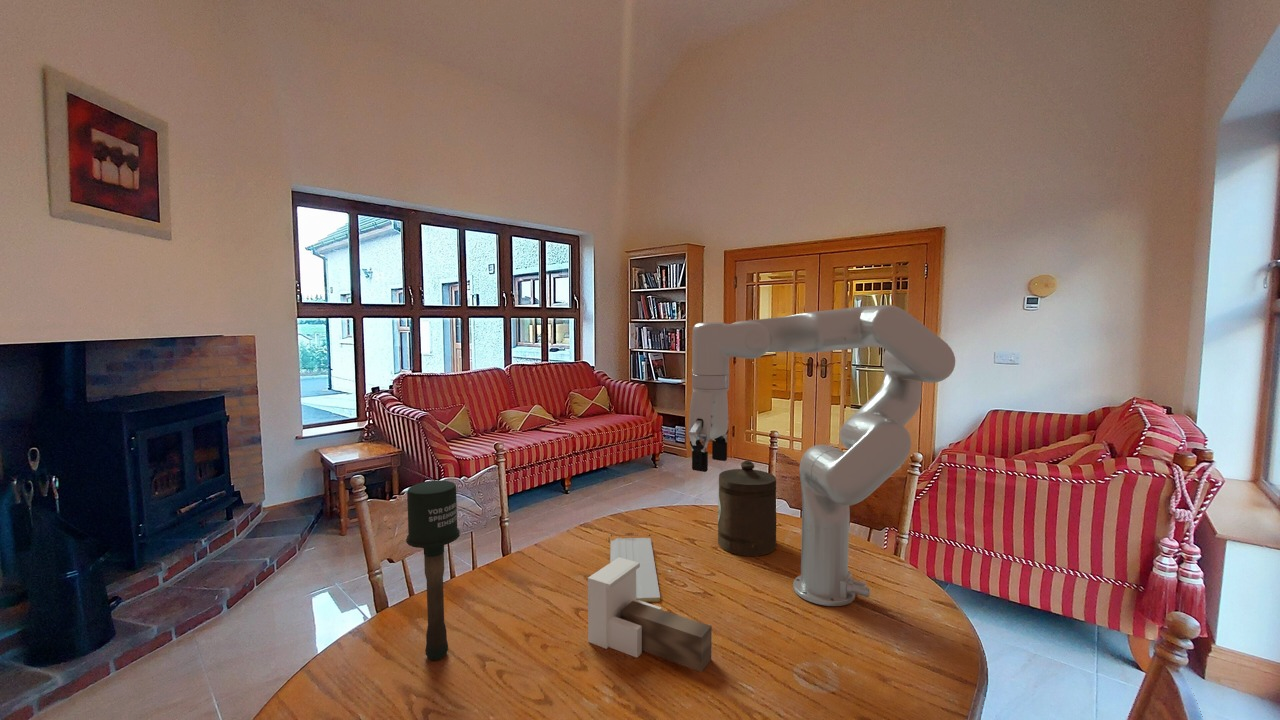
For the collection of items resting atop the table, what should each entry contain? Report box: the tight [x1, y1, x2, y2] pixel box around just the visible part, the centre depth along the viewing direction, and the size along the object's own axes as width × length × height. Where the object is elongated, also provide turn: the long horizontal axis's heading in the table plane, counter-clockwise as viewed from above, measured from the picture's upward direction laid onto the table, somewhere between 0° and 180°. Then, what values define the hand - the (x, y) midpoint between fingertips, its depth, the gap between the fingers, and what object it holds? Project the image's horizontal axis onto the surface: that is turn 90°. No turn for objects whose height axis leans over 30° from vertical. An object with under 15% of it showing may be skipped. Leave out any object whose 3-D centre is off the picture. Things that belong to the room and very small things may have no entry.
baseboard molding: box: [607, 532, 661, 603], centre depth 127 cm, size 31×3×12 cm
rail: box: [621, 601, 713, 673], centre depth 95 cm, size 16×4×6 cm, turn 58°
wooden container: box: [717, 460, 777, 557], centre depth 140 cm, size 15×15×22 cm
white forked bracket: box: [587, 557, 663, 658], centre depth 99 cm, size 10×10×12 cm
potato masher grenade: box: [405, 480, 461, 661], centre depth 93 cm, size 8×9×30 cm
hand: (710, 465), depth 112 cm, fingers open, 9 cm apart
